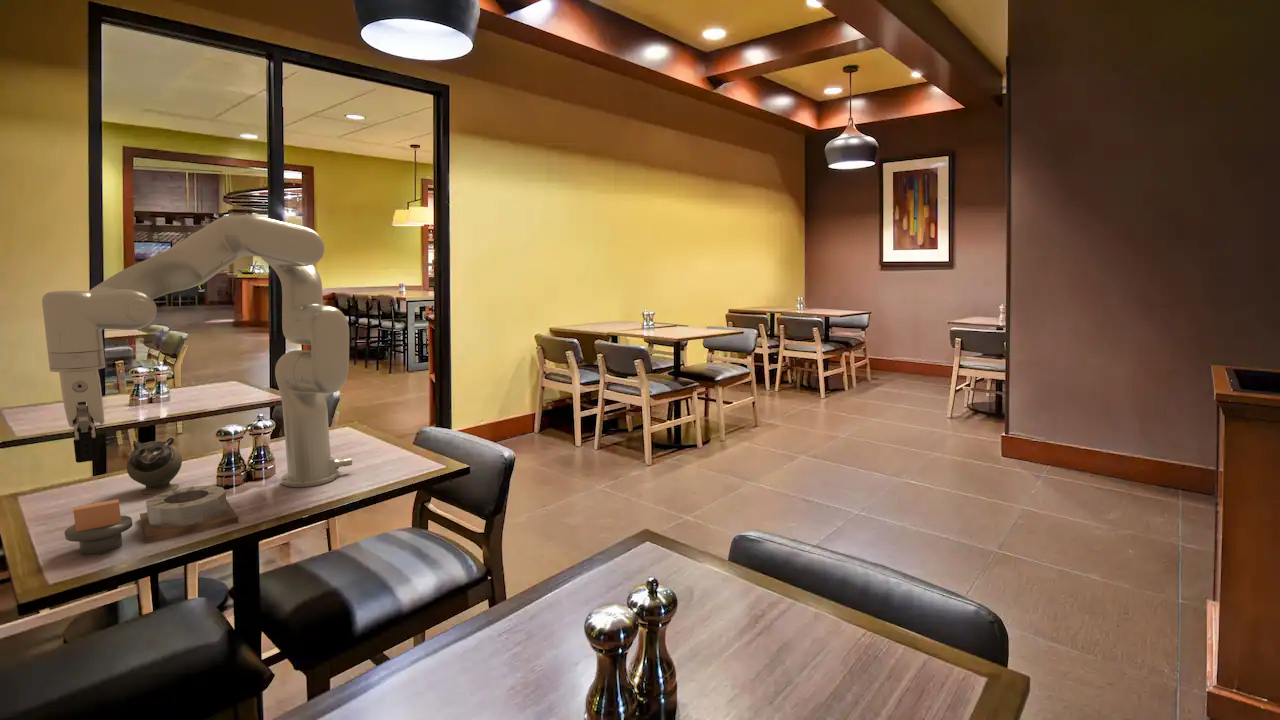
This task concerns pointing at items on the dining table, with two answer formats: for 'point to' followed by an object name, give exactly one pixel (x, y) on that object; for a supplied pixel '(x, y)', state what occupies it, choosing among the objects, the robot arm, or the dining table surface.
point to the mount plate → (160, 534)
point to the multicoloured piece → (98, 527)
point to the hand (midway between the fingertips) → (87, 454)
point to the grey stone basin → (186, 506)
